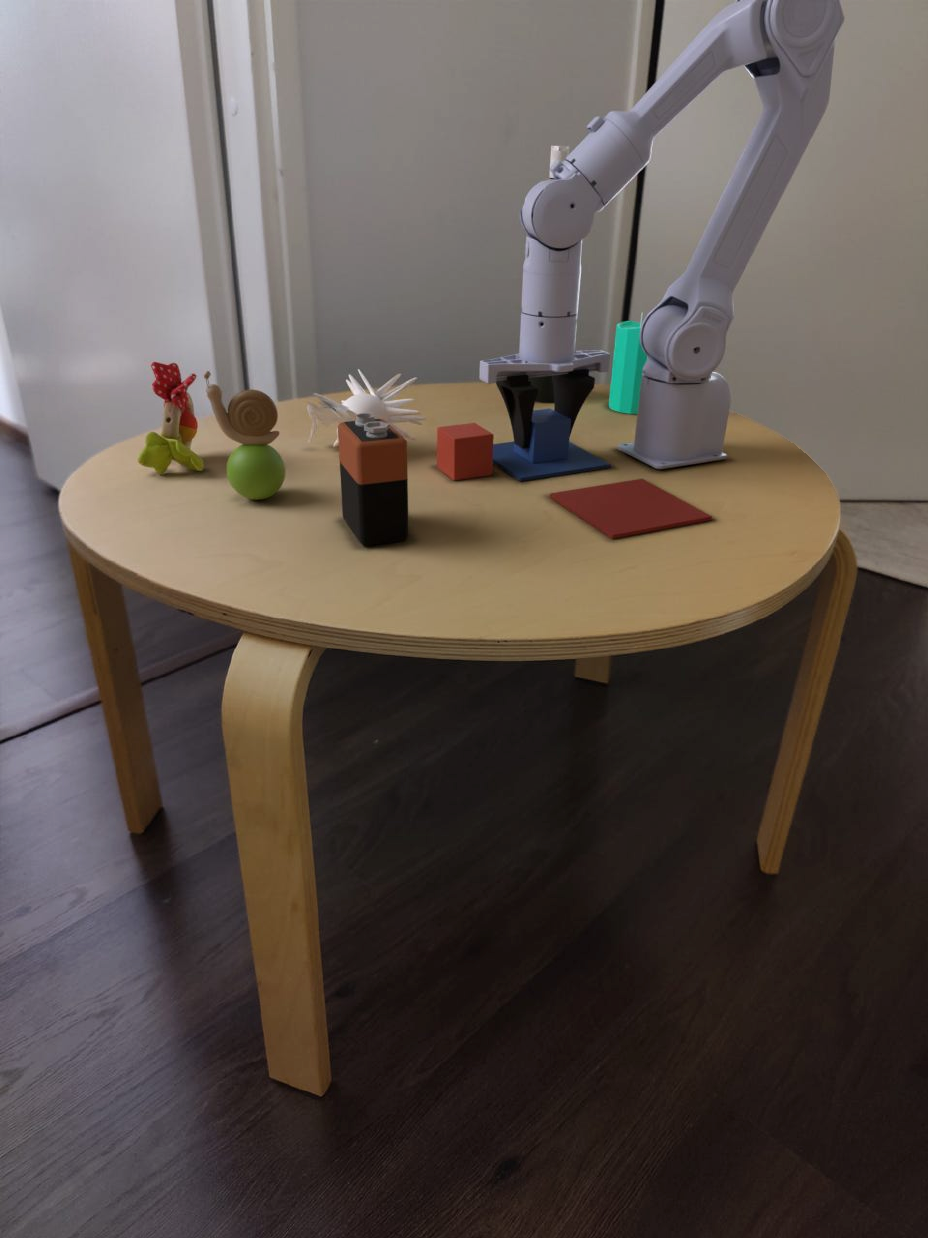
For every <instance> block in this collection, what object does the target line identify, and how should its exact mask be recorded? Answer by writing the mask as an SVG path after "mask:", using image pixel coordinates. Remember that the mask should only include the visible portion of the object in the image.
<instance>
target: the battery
mask: <svg viewBox="0 0 928 1238" xmlns="http://www.w3.org/2000/svg"><path fill="white" fill-rule="evenodd" d="M337 428H338V436H337V438H338V440H339V445H338V456H339V474H340V475H339V476H340V490H341V491H340V493H341V509H342V519H343V520H344V522H345V523H346V525H347V526H348V528H349V529H350V530H351V531H352V533H353V535H354V536H355V537H356V539H357V540H358V542H359V543H360V545H362V546H364V547H366V546H373V545H374V546H375V545H381V544H382V545H383V544H388V543H395V542H402V541H406V540H408V538H409V488H408V486H409V485H408V483H409V480H408V479H409V477H408V475H409V474H408V442H407V439H406V438H405V437H402V436H401V435H400V434H399V433H398V432H397V431H396V430H395V429H394V428H392V427H391V426H390V425H389V424H388V423H387V422H386V421H385V420H383V419H374V415H373V414H370V413H361V414H357V415H356V421H348V422H341V423H340V422H339V423H338V425H337Z"/></svg>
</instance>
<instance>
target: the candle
mask: <svg viewBox="0 0 928 1238" xmlns="http://www.w3.org/2000/svg"><path fill="white" fill-rule="evenodd" d="M643 315H644V314H643V311H642V312H641V315H640V322H638V321H633V320H626V321H620V322H619V323H617V324H616V328H615V337H614V348H613V357H612V366H611V367H612V368H611V375H610V376H611V377H610V386H609V387H610V388H609V397H608V407H609V409H610V410H612V411H615V412H618V413H623V414H629V415H637V414H638V405H639V397H640V388H641V380H642V370H643V367H644V365H645V363H646V361H647V355H646V353H645V352H644V351H643V349H642V347H641V344H640V328H641V325H642V323H643Z"/></svg>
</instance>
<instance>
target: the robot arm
mask: <svg viewBox="0 0 928 1238" xmlns="http://www.w3.org/2000/svg"><path fill="white" fill-rule="evenodd" d="M845 19H846V18H845V15H844V11H843V8H842V4H841V1H840V0H735V1H734V2H733V3H730V4H728V5H726V6H725V7H724V8H723V9H722V10H720V11H719V12H718V13H717V14H715V16H714V17H713V18H712V19H711V20H710V21H709V22H708V23H707V24H706V25H705V27H703V28H702V29H701V31H700V32H699V33H698V34H697V35H696V37H694V39H692V41H691V42H690V43H689V44H688V45H687V47H685V49H684V50H683V51H682V52H681V53H680V55H679V56H678V57H677V58H676V59H675V60H674V61H673V62H672V63H671V64H670V65H669V67H667V69H665V71H664V72H663V73H662V74H661V76H660V77H659V78H658V79H657V80H656V81H655V82H654V83H653V84H652V86H651V87H650V88H649V89H648V90H647V91H646V93H644V94H643V96H642V97H641V98H640V99H639V100H638V101H637V102H636V104H635V105H634V106H633V107H632V108H631V109H630V110H629V111H623V110H611V111H609V112H608V113H607V114H606V115H605V116H604V117H602V116H595V117H594V118H593V119H592V120H591V121H590V122H589V123H588V124H587V125H586V129H587V131H588V132H589V133H588V134H587V135H586V136H585V137H584V138H583V140H581V141H580V143H579V144H578V145H577V146H576V147H575V148H574V149H573V150H572V151H571V152H569V155H568V156H567V157H566V159H565V160H564V161H563V162H562V163H561V162H560V161H556V162H555V163H554V164H553V165H552V166H551V167H550V166H549V172H550V171H551V172H552V173H553V176H554V179H550V178H549V179H546V180H541V181H540V182H538V183H536V184H535V185H534V186H533V187H531V189H530V190H529V191H528V193H527V194H526V196H525V199H524V200H523V201H524V202H523V204H522V208H521V209H520V210H519V221H520V224H521V227H522V229H523V231H524V233H525V234H526V236H525V246H524V255H525V256H524V261H523V266H522V267H523V268H522V287H521V304H520V305H521V306H520V308H521V309H520V329H519V348H518V353H514V354H510V355H505V356H499V357H496V358H490V359H482V360H479V380H480V381H482V382H484V383H486V384H488V385H489V384H495V385H496V387H497V389H498V391H499V393H500V395H501V397H502V399H503V402H504V406H505V408H506V410H507V414H508V417H509V420H510V421H509V422H510V425H511V430H512V435H513V442H514V443H515V444H516V445H518V446H519V447H521V448H523V449H525V448H528V447H529V442H530V436H531V421H532V414H533V410H534V408H535V404H536V401H535V400H536V397H537V394H538V391H539V390H538V389H537V388H536V387H534V386H532V385H531V381H528V378H532V377H542V376H552V381H553V389H554V402H553V403H554V406H553V407H554V409H553V410H554V411H556V412H558V413H560V414H562V415H564V416H566V417H568V418H570V419H571V425H570V436H571V434H572V431H573V428H574V425H575V423H576V420H577V418H578V416H579V413H580V411H581V409H582V407H583V405H584V404H585V402H586V400H587V398H588V397H589V395H590V394H591V393H592V391H593V390H594V388H595V384H596V378H595V377H594V376H592V375H590V373H591V372H598V373H608V372H609V370H610V369H609V368H610V360H611V353H609V352H607V351H605V350H601V349H594V350H575V349H576V340H577V328H578V315H579V303H580V302H579V300H580V290H581V289H580V287H581V275H582V264H581V262H582V261H581V260H582V250H583V249H582V248H583V239H586V238H587V237H588V235H589V234H590V232H591V230H592V228H593V224H594V221H595V213H600V212H602V210H604V208H605V207H606V206H607V205H608V204H609V203H610V202H611V201H612V200H613V199H614V198H615V197H616V196H617V195H618V194H619V193H620V192H621V191H622V190H623V189H624V188H625V187H626V186H627V185H628V184H629V183H630V182H631V181H632V180H633V179H634V178H635V177H636V176H637V175H638V174H639V173H640V172H641V171H642V170H643V169H644V168H645V167H646V166H647V165H648V164H649V162H651V158H652V152H653V151H652V149H653V143H654V139H655V137H657V135H658V134H660V132H662V130H664V129H665V128H666V127H667V126H668V125H669V124H670V123H671V122H672V121H674V120H675V118H677V116H679V115H680V113H682V112H683V111H684V110H685V109H686V108H687V107H688V106H690V104H691V103H693V101H694V100H696V98H698V97H699V96H700V95H701V94H702V93H703V92H705V90H706V89H707V88H708V87H709V86H710V85H711V84H712V83H714V81H716V80H717V79H718V78H719V77H720V76H721V75H722V74H723V73H725V72H727V71H730V70H733V69H736V68H739V67H744V68H745V69H746V71H747V72H748V74H749V75H750V76H751V78H752V79H753V80H754V83H755V86H756V89H757V92H758V95H759V100H760V102H761V105H762V111H761V114H760V116H759V117H758V120H757V122H756V124H755V126H754V128H753V130H752V132H751V134H750V137H749V138H748V141H747V142H746V145H745V147H744V149H743V151H742V153H741V155H740V157H739V159H738V161H737V163H736V165H735V167H734V170H733V172H732V174H731V176H730V178H729V180H728V182H727V184H726V186H725V189H724V190H723V193H722V195H721V196H720V199H719V201H718V203H717V205H716V207H715V209H714V211H713V213H712V215H711V217H710V220H709V221H708V223H707V226H706V228H705V230H704V232H703V234H702V236H701V238H700V240H699V242H698V243H697V244H698V245H697V247H696V248H695V251H694V253H693V254H692V257H691V259H690V261H689V263H688V265H687V268H686V269H685V271H684V272H683V273H682V274H681V275H680V276H679V277H678V278H677V279H676V280H674V281H673V282H672V283H671V284H670V285H669V286H668V288H667V290H666V292H665V294H664V296H663V298H662V299H661V300H660V302H659V303H657V305H656V306H655V307H653V308H652V309H651V310H650V311H649V312H648V313H647V314H646V316H645V317H644V319H643V320H642V325H641V328H640V344H641V347H642V349H643V351H644V352H645V353H646V355H647V361H646V363H645V365H644V367H643V370H642V380H641V388H640V397H639V405H638V414H636V425H635V433H634V441H633V442H632V441H631V442H626V443H619V444H617V447H616V448H617V450H619V451H621V452H623V453H624V454H627V455H629V456H631V457H633V458H635V459H637V460H638V461H641V462H642V463H645V464H647V465H649V466H651V468H654V469H655V470H656V469H657V470H665V469H671V468H677V467H684V466H689V465H696V464H702V463H703V464H704V463H709V462H715V461H721V460H726V459H727V457H728V454H727V453H725V452H723V450H724V444H725V438H726V432H727V427H728V420H729V415H730V410H731V409H730V408H731V402H732V401H731V398H732V397H731V390H730V387H729V383H728V381H727V380H726V379H725V378H724V376H722V375H721V374H720V373H718V372H715V371H716V369H717V368H718V367H719V365H721V362H722V361H723V359H724V356H725V353H726V348H727V346H726V345H727V335H728V331H729V329H730V327H731V324H732V322H733V320H734V319H735V309H734V308H735V306H734V293H735V290H736V288H737V285H738V284H739V282H740V280H741V278H742V276H743V274H744V272H745V271H746V268H747V266H748V264H749V262H750V260H751V258H752V256H753V254H754V252H755V250H756V248H757V246H758V244H759V243H760V241H761V238H762V237H763V235H764V233H765V231H766V229H767V228H768V225H769V223H770V221H771V219H772V217H773V216H774V213H775V212H776V209H777V208H778V205H779V203H780V201H781V199H782V197H783V195H784V194H785V191H786V189H787V188H788V185H789V184H790V182H791V180H792V178H793V175H794V174H795V172H796V170H797V168H798V166H799V165H800V162H801V161H802V158H803V156H804V154H805V152H806V151H807V148H808V147H809V144H810V143H811V140H813V139H812V138H813V137H814V134H815V133H816V131H817V129H818V127H819V125H820V123H821V121H822V119H823V117H824V115H825V114H826V111H827V108H828V105H829V102H830V98H831V97H830V96H831V88H832V87H831V86H832V77H833V67H834V66H833V65H834V57H835V47H836V46H835V45H836V41H837V38H838V36H839V33H840V31H841V29H842V27H843V24H844V22H845Z"/></svg>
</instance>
